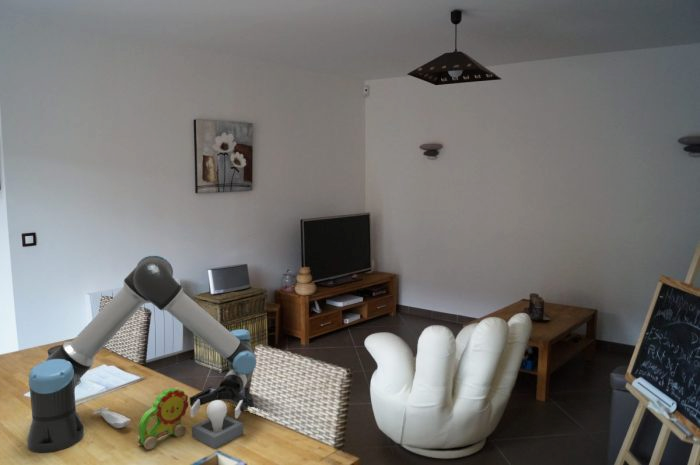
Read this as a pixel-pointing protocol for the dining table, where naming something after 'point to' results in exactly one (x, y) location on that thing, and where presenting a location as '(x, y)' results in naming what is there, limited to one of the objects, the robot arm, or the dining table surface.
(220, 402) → the lightbulb
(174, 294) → the robot arm
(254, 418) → the dining table surface
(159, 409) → the toy lion
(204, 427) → the frame
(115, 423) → the white fish figurine
